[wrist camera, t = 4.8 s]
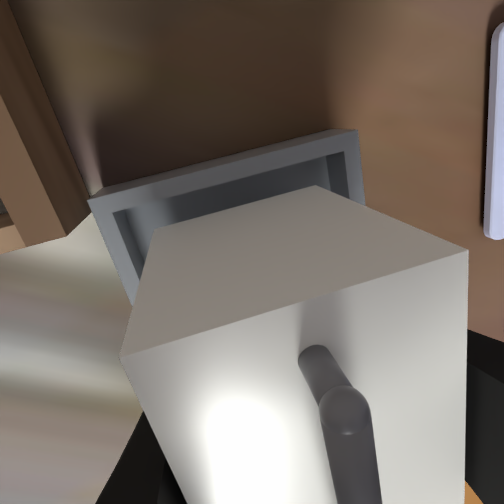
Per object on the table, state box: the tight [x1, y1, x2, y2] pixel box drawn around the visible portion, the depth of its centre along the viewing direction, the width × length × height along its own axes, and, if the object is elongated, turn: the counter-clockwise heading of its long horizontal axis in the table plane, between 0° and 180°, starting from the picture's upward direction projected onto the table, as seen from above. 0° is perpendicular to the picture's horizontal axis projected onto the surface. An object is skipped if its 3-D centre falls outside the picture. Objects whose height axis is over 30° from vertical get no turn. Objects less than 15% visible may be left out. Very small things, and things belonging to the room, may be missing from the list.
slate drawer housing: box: [87, 129, 365, 307], centre depth 13 cm, size 8×10×2 cm
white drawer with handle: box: [119, 185, 469, 504], centre depth 8 cm, size 5×7×7 cm
